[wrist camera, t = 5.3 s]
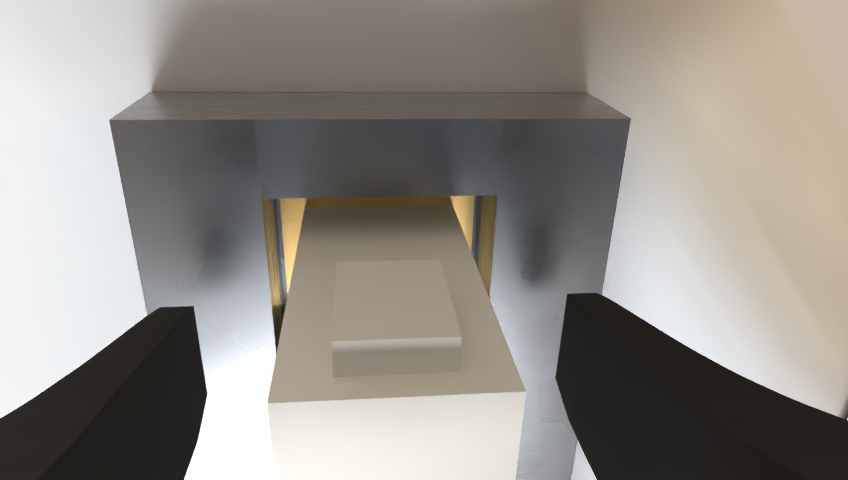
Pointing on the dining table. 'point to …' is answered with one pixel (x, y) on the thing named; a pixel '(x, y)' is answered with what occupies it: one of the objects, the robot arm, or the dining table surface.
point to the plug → (391, 354)
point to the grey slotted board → (362, 186)
